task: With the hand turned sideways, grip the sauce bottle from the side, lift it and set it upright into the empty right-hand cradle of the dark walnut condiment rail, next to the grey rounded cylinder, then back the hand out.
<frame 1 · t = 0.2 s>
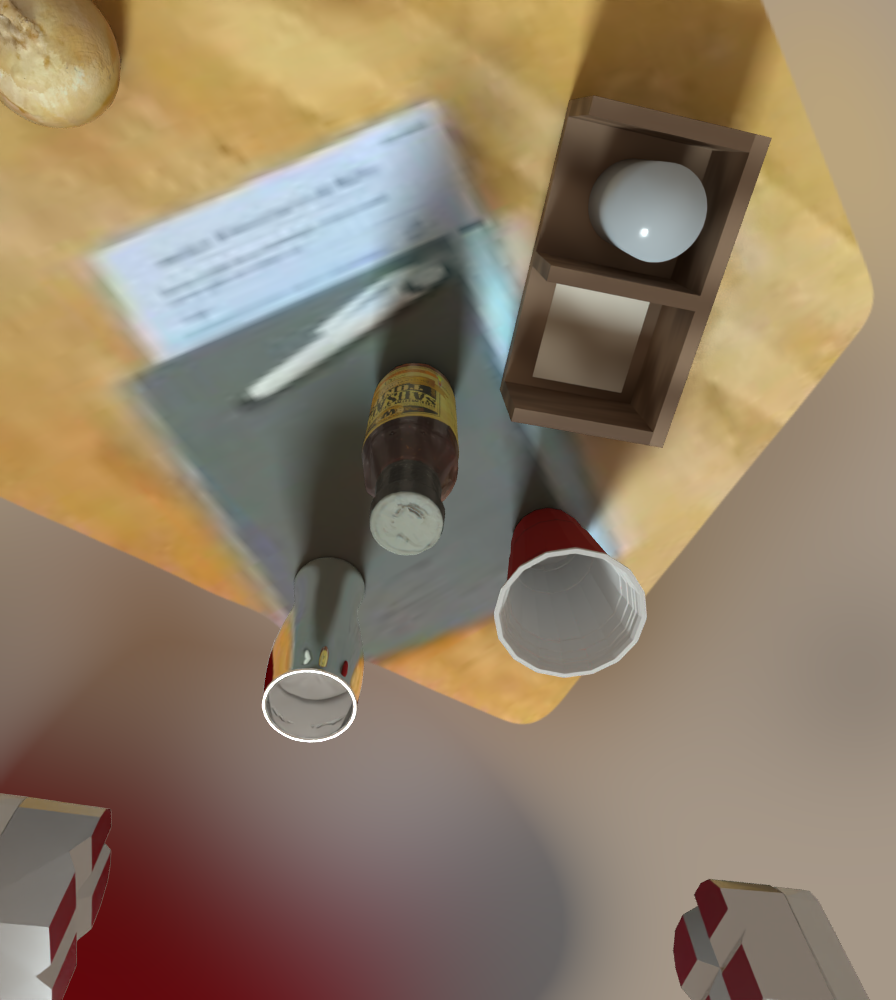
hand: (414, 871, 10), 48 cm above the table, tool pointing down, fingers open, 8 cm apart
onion: (68, 57, 46), on the table
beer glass: (329, 585, 64), on the table
grey rounded cylinder: (628, 203, 51), resting on walnut condiment rail
plastic cup: (542, 535, 63), on the table
walnut condiment rail: (605, 271, 53), on the table
sauce bottle: (411, 398, 57), on the table
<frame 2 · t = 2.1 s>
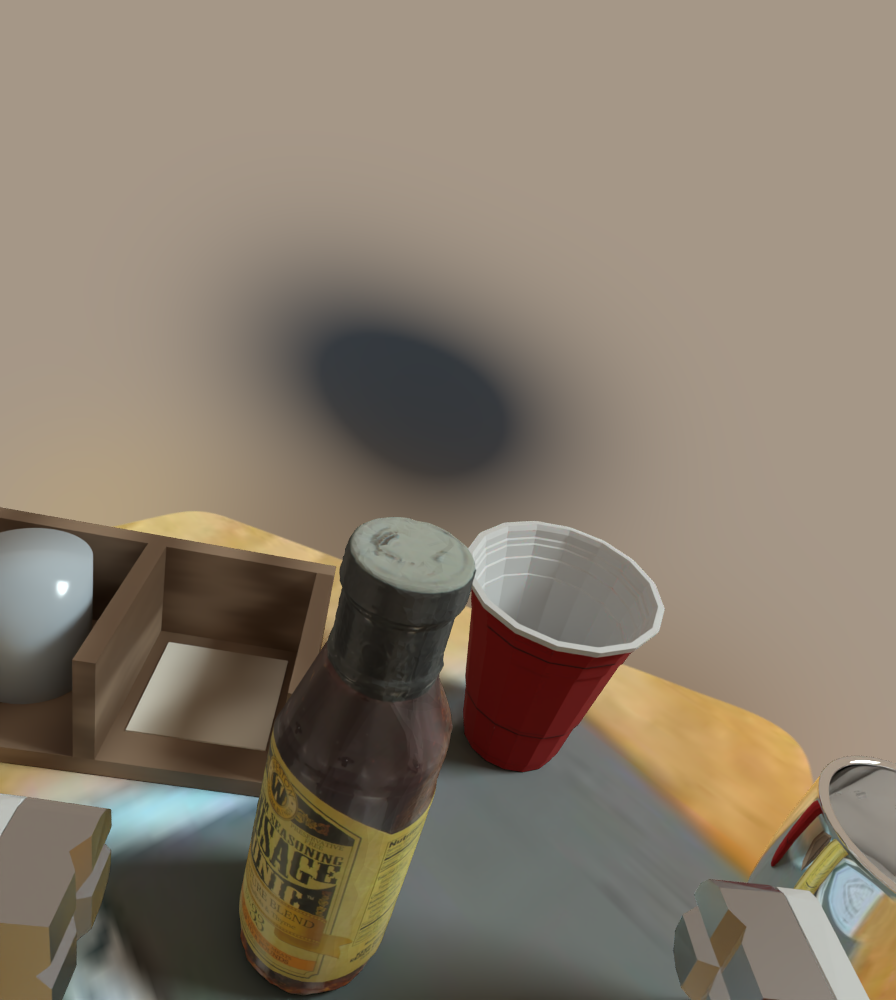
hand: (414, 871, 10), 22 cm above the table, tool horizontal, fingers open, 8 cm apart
grey rounded cylinder: (34, 666, 40), resting on walnut condiment rail
plastic cup: (507, 740, 45), on the table
walnut condiment rail: (124, 694, 41), on the table
sauce bottle: (311, 935, 32), on the table
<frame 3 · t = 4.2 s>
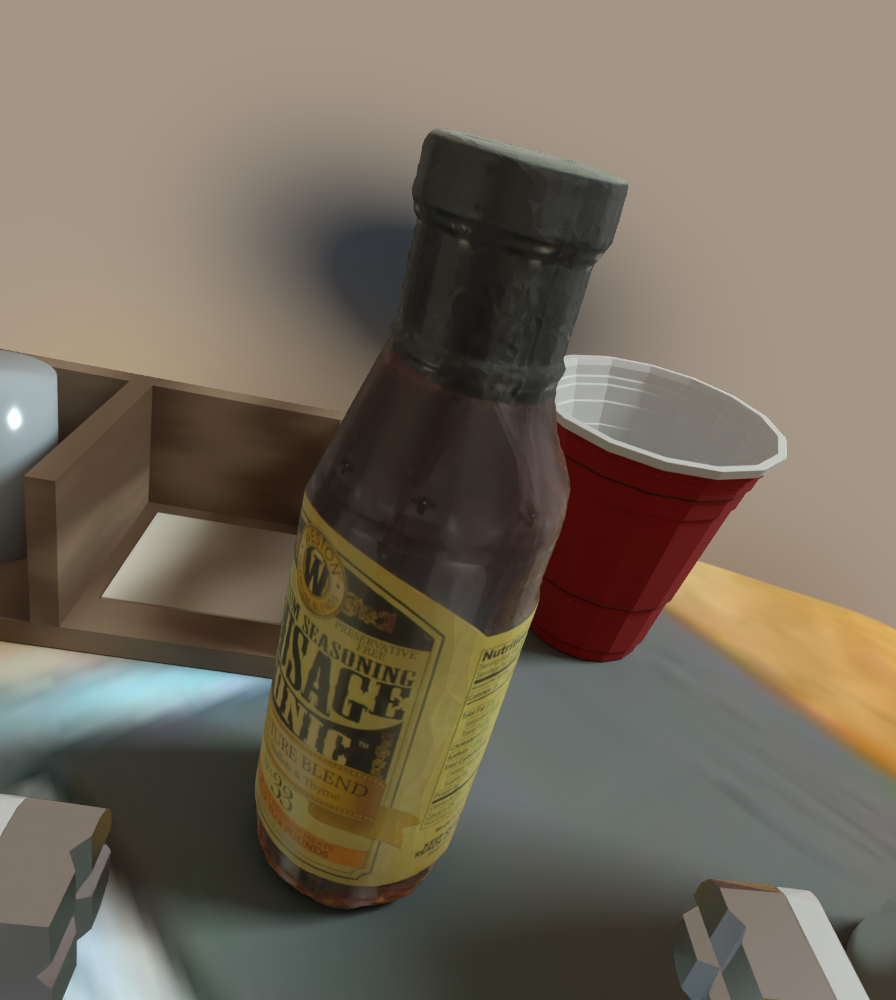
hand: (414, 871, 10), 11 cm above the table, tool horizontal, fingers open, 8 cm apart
plastic cup: (577, 630, 36), on the table
walnut condiment rail: (102, 567, 32), on the table
sauce bottle: (353, 838, 23), on the table
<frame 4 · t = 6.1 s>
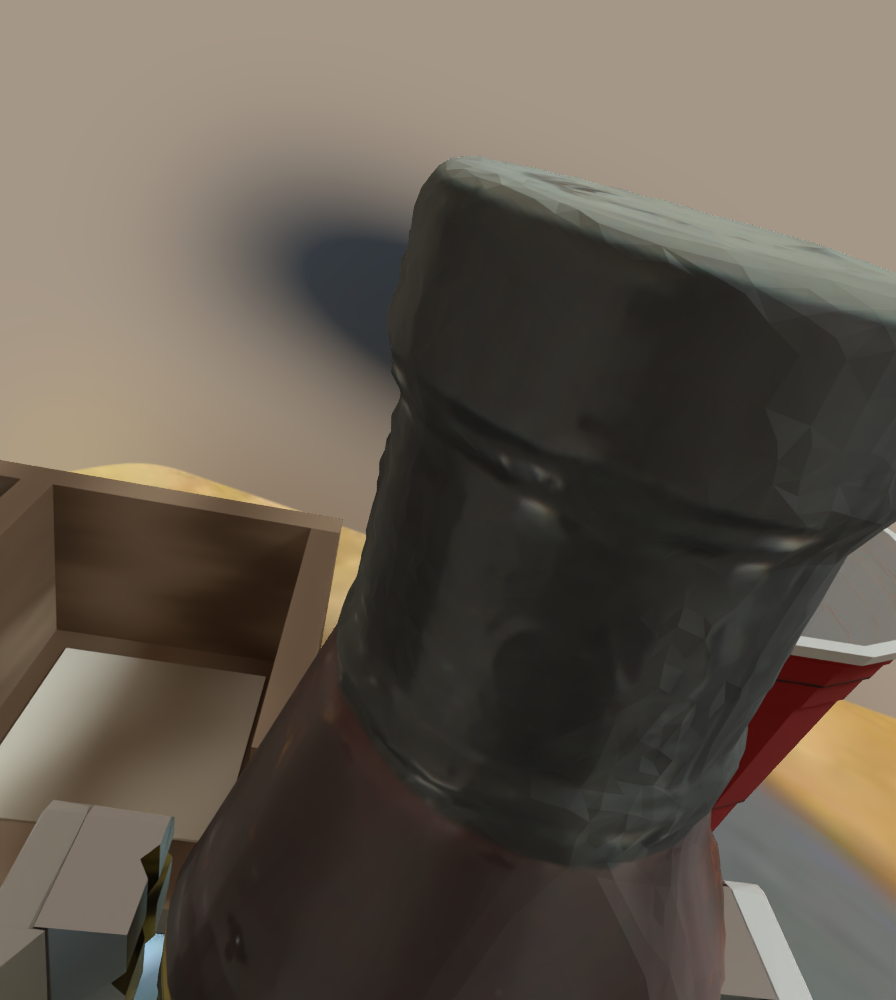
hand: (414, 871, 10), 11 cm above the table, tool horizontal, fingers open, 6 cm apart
plastic cup: (626, 801, 27), on the table
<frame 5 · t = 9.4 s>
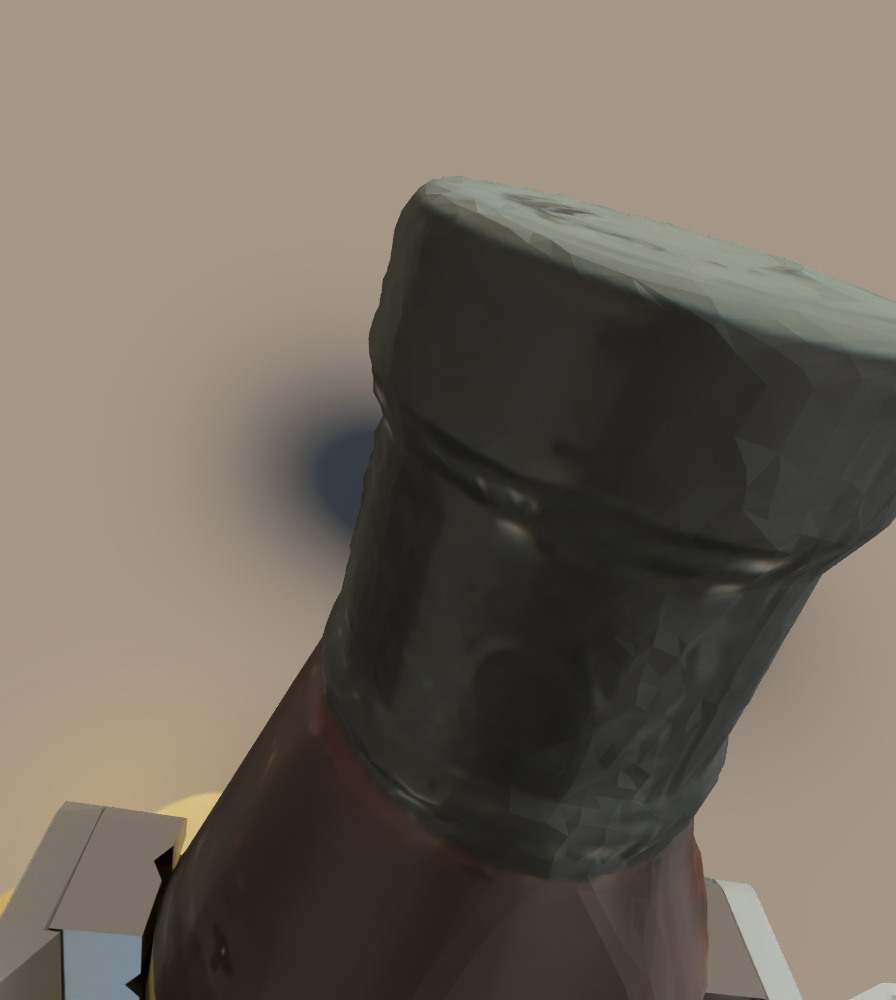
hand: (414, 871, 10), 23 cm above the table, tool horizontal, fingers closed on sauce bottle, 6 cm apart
when the fingers open (13 cm above the table, at t = 12.2 s): sauce bottle drops 1 cm, resting on walnut condiment rail.
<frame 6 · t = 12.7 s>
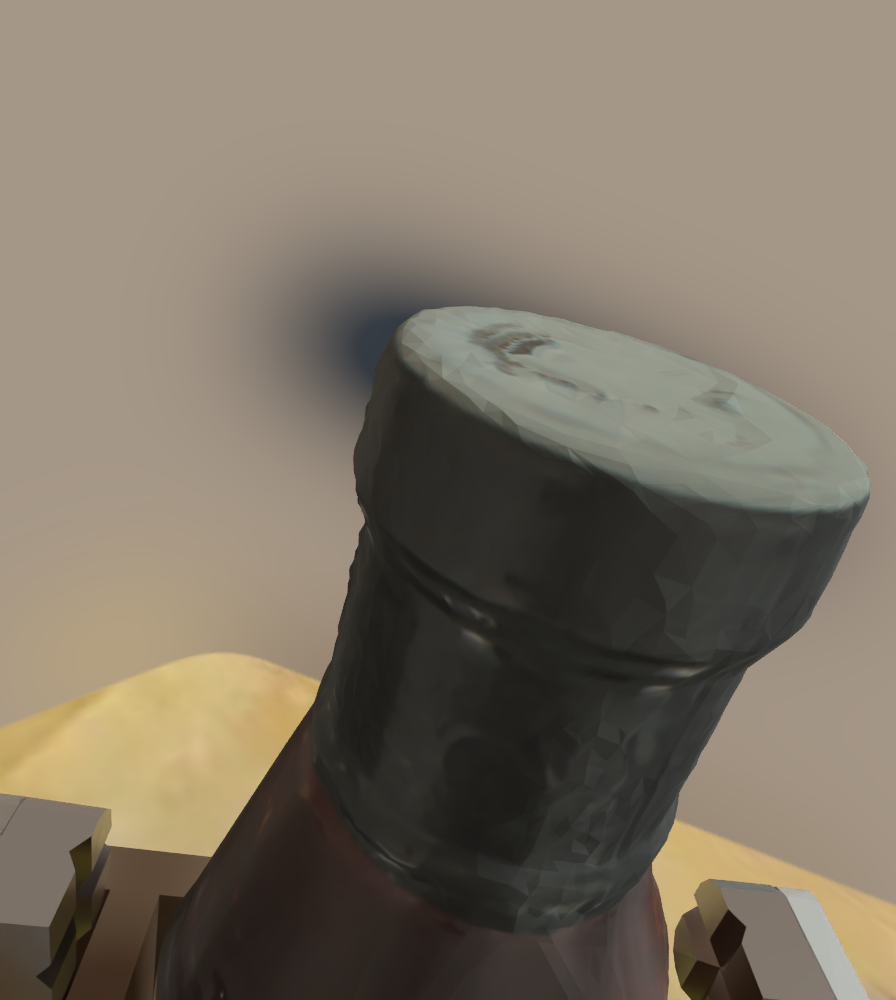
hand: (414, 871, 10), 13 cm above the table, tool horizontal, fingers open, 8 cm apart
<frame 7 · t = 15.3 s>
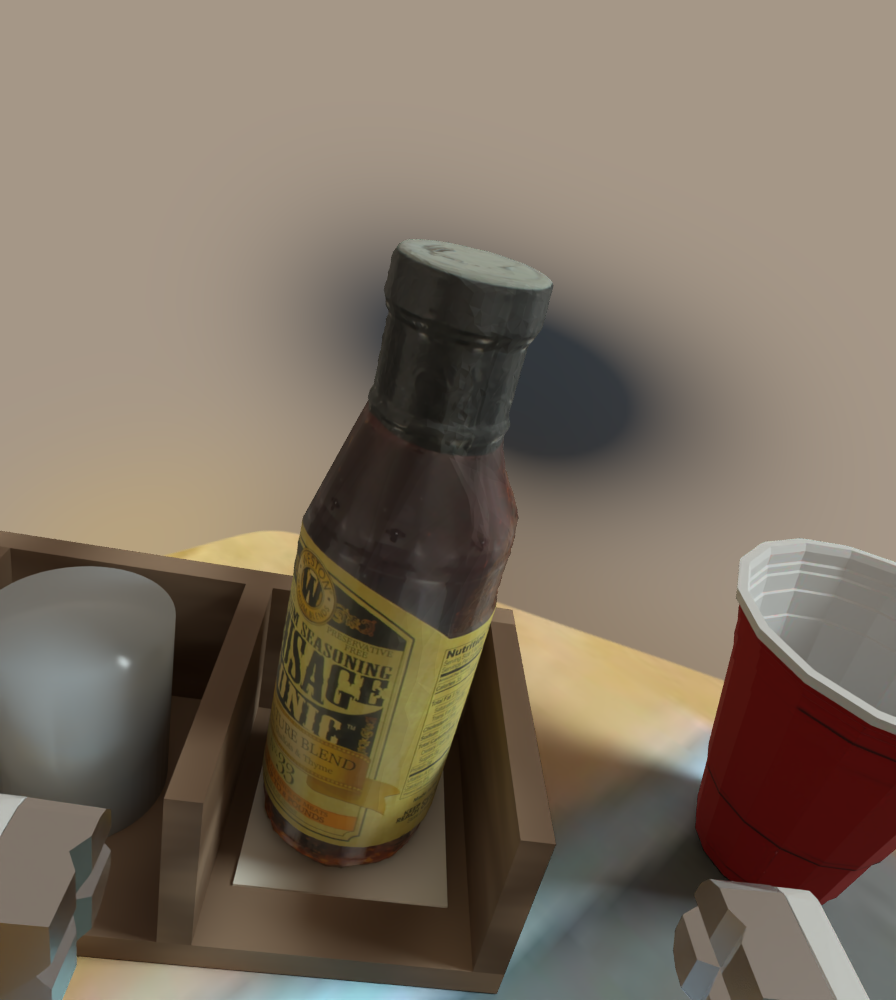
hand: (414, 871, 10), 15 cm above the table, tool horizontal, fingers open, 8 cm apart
grey rounded cylinder: (82, 776, 26), resting on walnut condiment rail
plastic cup: (761, 855, 31), on the table
walnut condiment rail: (217, 812, 27), on the table
sauce bottle: (346, 811, 27), point 1 cm above the table, touching walnut condiment rail
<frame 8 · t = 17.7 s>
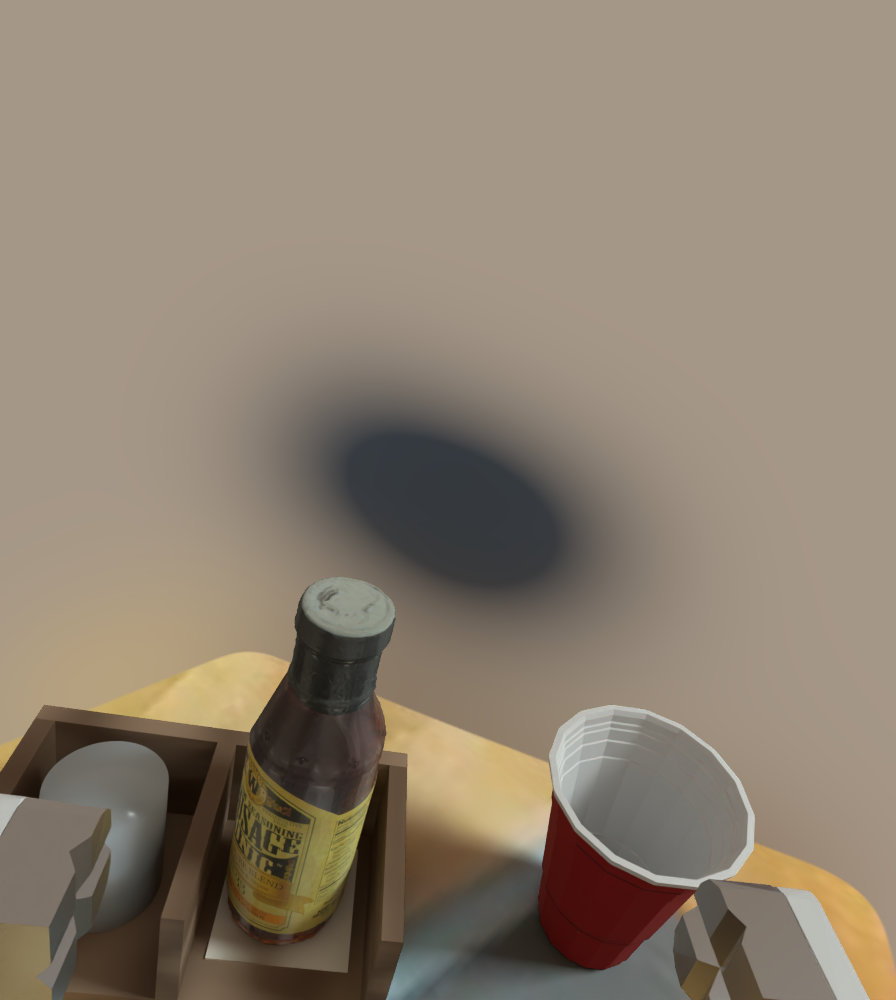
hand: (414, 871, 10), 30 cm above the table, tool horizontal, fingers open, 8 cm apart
grey rounded cylinder: (104, 880, 38), resting on walnut condiment rail
plastic cup: (583, 926, 43), on the table
walnut condiment rail: (196, 902, 40), on the table
sauce bottle: (284, 901, 40), point 1 cm above the table, touching walnut condiment rail
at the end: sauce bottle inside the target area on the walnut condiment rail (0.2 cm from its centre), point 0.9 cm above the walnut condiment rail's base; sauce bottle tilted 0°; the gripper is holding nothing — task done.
